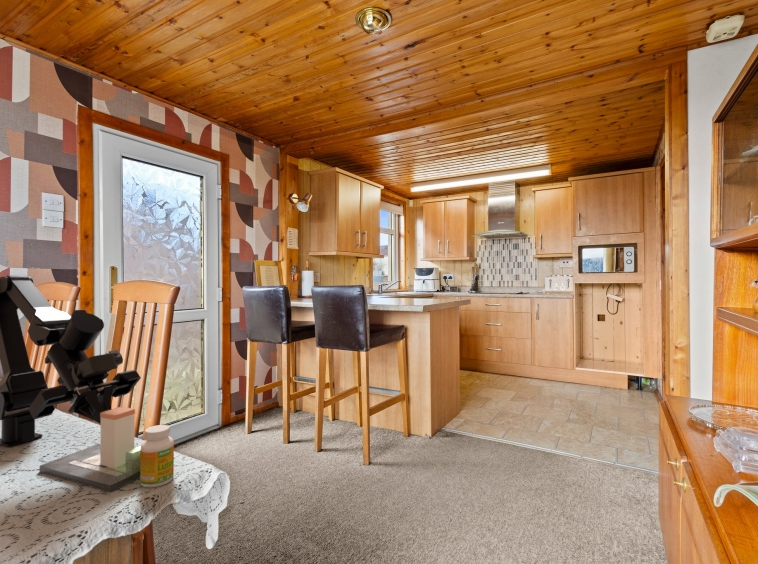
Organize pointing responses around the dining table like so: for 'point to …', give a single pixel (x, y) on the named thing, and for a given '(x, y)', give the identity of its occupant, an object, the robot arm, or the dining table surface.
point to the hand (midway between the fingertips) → (109, 424)
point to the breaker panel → (95, 469)
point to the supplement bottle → (157, 457)
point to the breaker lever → (116, 436)
